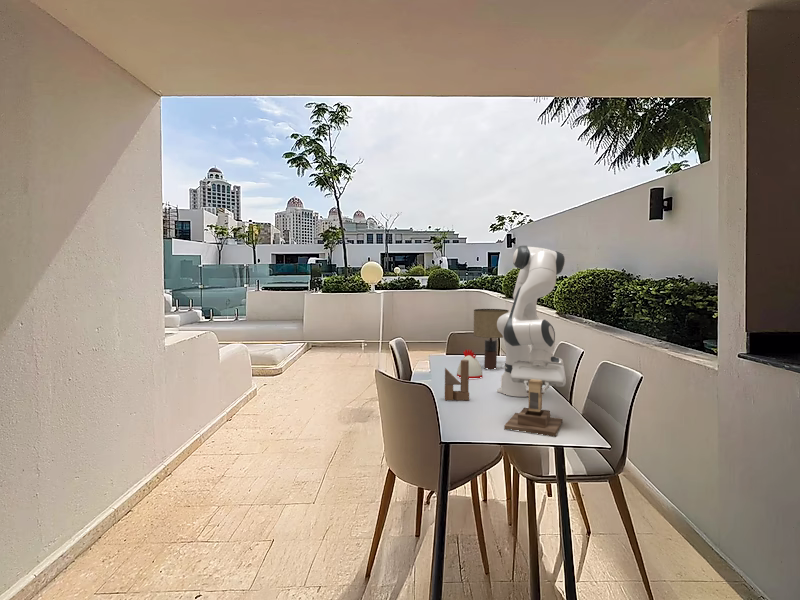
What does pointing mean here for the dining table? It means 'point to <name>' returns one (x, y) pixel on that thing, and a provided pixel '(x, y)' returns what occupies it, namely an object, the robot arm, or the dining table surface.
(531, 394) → the tan rectangular box
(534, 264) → the robot arm
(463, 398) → the wooden block
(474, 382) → the dining table surface
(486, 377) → the dining table surface
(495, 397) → the dining table surface
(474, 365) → the kitchen timer
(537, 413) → the post base
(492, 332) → the lamp
